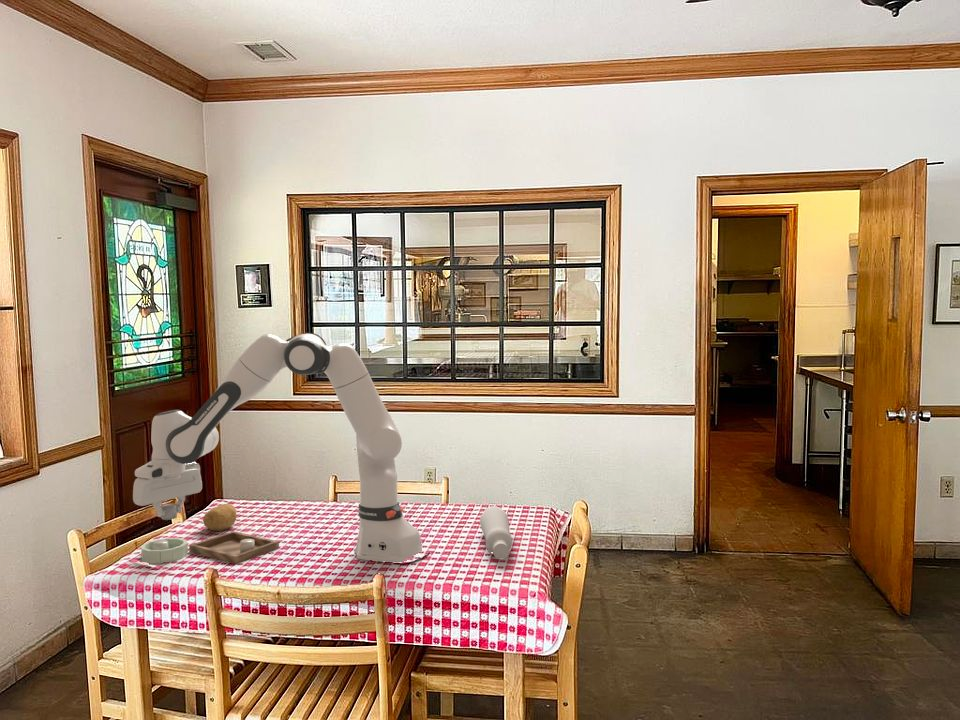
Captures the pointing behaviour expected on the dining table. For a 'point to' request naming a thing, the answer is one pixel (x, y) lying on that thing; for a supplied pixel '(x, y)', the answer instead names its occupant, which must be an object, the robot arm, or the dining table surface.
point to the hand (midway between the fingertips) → (169, 514)
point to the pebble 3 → (246, 545)
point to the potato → (220, 517)
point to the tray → (232, 547)
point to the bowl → (164, 551)
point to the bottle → (496, 531)
